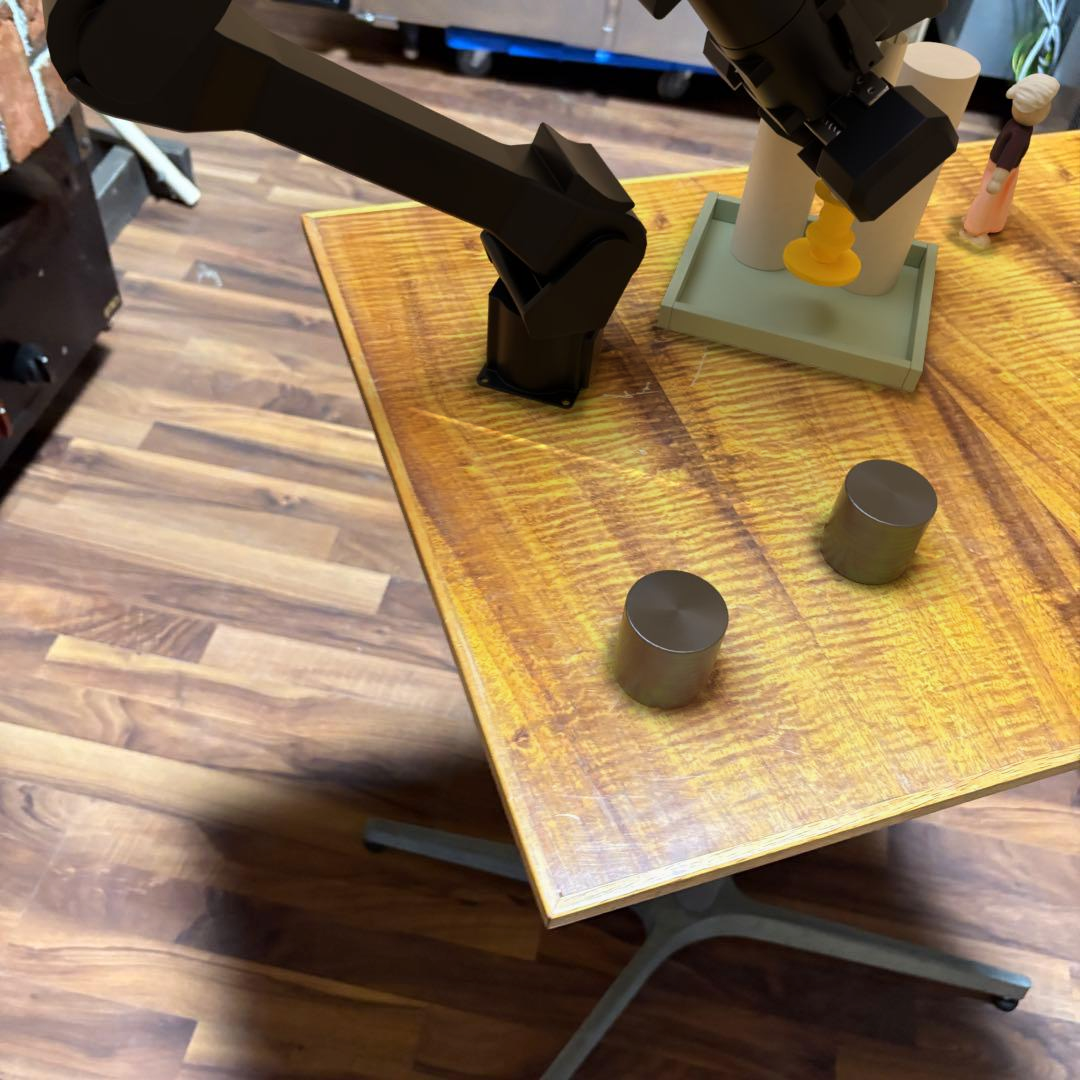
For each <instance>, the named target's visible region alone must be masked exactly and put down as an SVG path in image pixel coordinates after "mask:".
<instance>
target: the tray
mask: <svg viewBox="0 0 1080 1080" xmlns="http://www.w3.org/2000/svg"><path fill="white" fill-rule="evenodd" d="M741 198H742V197H736V196H732V195H727V194H724V193H719V192H717V191H713V190H712V191H711V190H708V192H707V195H706V197H705V199H704V202H703V204H702V206H701V209H700V211H699V213H698V216H697V218H696V220H695V223H694V225H693V228H692V230H691V232H690V235H689V237H688V239H687V242H686V244H685V247H684V249H683V251H682V253H681V256H680V258H679V261H678V263H677V266H676V268H675V270H674V273H673V275H672V277H671V279H670V282H669V285H668V287H667V289H666V292H665V294H664V296H663V299H662V300H661V304H660V307H659V312H658V317H657V323H656V328H660V329H664V330H669V331H673V332H675V333H680V334H684V335H688V336H691V337H695V338H699V339H702V340H707V341H711V342H715V343H719V344H723V345H725V346H726V345H727V346H730V347H733V348H738V349H741V350H746V351H749V352H754V353H757V354H761V355H765V356H769V357H773V358H777V359H780V360H785V361H789V362H792V363H796V364H800V365H804V366H808V367H812V368H815V369H819V370H823V371H828V372H831V373H835V374H838V375H843V376H846V377H851V378H854V379H858V380H862V381H865V382H869V383H874V384H877V385H881V386H885V387H888V388H893V389H897V390H900V391H905V392H908V393H912V394H913V393H914V391H915V389H916V387H917V384H918V382H919V380H920V378H921V376H922V374H923V372H924V371H923V370H924V363H925V355H926V348H927V347H926V346H927V340H928V332H929V331H928V330H929V324H930V315H931V310H932V309H931V307H932V299H933V292H934V283H935V278H936V277H935V276H936V269H937V260H938V254H939V253H938V252H939V245H938V244H936V243H931V242H927V241H922V240H919V239H915V238H914V239H913V242H912V244H911V247H910V249H909V252H908V254H907V257H906V259H905V262H904V264H903V267H902V269H901V272H900V274H899V277H898V279H897V282H896V285H895V287H894V288H893V289H892V290H891V291H890V292H888V293H886V294H883V295H879V296H865V295H859V294H855V293H852V292H850V291H847V290H845V289H843V288H842V287H840V286H838V287H825V286H818V285H815V284H811V283H808V282H806V281H803V280H801V279H799V278H798V277H796V276H795V275H793V274H792V273H791V272H790V271H789V270H788V269H787V268H785V269H782V270H777V271H765V270H759V269H755V268H752V267H749V266H747V265H745V264H743V263H741V262H740V261H738V260H737V259H736V258H735V257H734V256H733V254H732V252H731V249H730V244H731V240H732V236H733V231H734V227H735V223H736V219H737V215H738V211H739V207H740V203H741ZM817 220H819V216H818V215H812V214H809V217H808V220H807V223H806V227H805V230H804V233H803V236H802V238H804V237H806V230H807V227H808V225H809V224H810V223H812V222H814V221H817Z"/></svg>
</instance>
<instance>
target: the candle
mask: <svg viewBox="0 0 1080 1080" xmlns="http://www.w3.org/2000/svg"><path fill="white" fill-rule="evenodd" d="M909 42H910V36H909V35H908V34H907V33H906V32H904V31H902V32H900V33H898V34H897V35H895V36H893V37H891V38H889V39H887V40H884V41H880V43H879V45H878V47H879V49H880V51H881V53H882V55H883V57H884V58H883V59H882V60H881V61H880V62H878V63H877V64H876V65H875V66H874V67H873V68H872V69H871V71H872V72H873V73H874V74H876V75H877V76H878V77H879V78H881V77H884V78H885V79H886V80H887V81H888V82H889V83H890V84H892V85H893V86H894V87H895V84H896V81H897V78H898V75H899V72H900V69H901V66H902V63H903V59H904V56H905V53H906V49H907V46H908V45H909ZM814 191H815V193H816V194H815V196H817V197H818V198H819V199H820V200H821V201H823V206H822V207H821V208H820V210H819V213H818V217H819V220H817V221H814V222H812V223H810V224H809V225H808V227H807V230H806V237H804V238H799V239H796V240H794V241H791V242H790V243H789V244H788V245H787V246H786V248H785V250H784V253H783V262H784V264H785V266H786V268H787V269H788V270H789V271H790V272H791V273H792V274H793V275H795V276H796V277H798V278H799V279H801V280H803V281H806V282H808V283H811V284H815V285H818V286H825V287H838V286H844V285H847V284H849V283H851V282H853V281H854V280H855V279H856V278H857V277H858V275H859V272H860V270H861V262H860V260H859V258H858V256H857V255H856V254H855V253H854V252H853V251H852V250H851V249H850V248H851V247H852V246H853V244H854V241H855V234H854V233H853V231H852V230H851V229H850V227H851V225H852V223H853V221H854V219H855V216H854V215H853V214H852V213H851V212H850V211H849V210H848V209H847V208H846V207H845V206H844V205H843V204H842V203H841V202H840V201H839V200H838V199H837V198H836V196H835V195H834V194H833V193H832V192H831V190H830V189H829V188H828V187H827V186H826V184H825V183H824V182H823V181H822V179H821V178H820V180H819V181H817V182H816V184H815V186H814Z"/></svg>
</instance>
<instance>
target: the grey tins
mask: <svg viewBox="0 0 1080 1080" xmlns="http://www.w3.org/2000/svg"><path fill="white" fill-rule="evenodd" d="M938 505H939V501H938V495H937V492H936V490H935V488H934V487H933V485H932V484H931V482H930V481H929V480H928V478H926V476H924V475H923V474H922V473H920V472H919V471H917V470H916V469H914V468H913V467H911V466H909V465H906V464H904V463H902V462H898V461H894V460H890V459H885V458H884V459H881V458H876V459H867V460H864V461H861V462H859V463H857V464H855V465H854V466H853V467H851V468H850V469H849V471H848V472H847V473H846V476H845V478H844V480H843V483H842V485H841V487H840V490H839V492H838V494H837V496H836V499H835V500H834V503H833V506H832V508H831V510H830V513H829V515H828V518H827V520H826V522H825V525H824V527H823V530H822V532H821V534H820V539H819V547H820V552H821V554H822V556H823V558H824V559H825V561H826V563H828V565H829V566H830V567H831V568H832V569H833V570H835V571H836V572H837V573H838V574H839V575H841V576H843V577H845V578H846V579H849V580H851V581H854V582H856V583H860V584H865V585H883V584H884V585H885V584H888V583H891V582H893V581H895V580H896V579H898V578H899V577H900V576H902V575H903V573H904V571H905V570H906V568H907V566H908V565H909V563H910V561H911V559H912V557H913V555H914V553H915V552H916V549H918V546H919V545H920V543H921V541H922V539H923V536H924V535H925V533H926V532H927V529H928V528H929V526H930V524H931V522H932V521H933V518H934V516H935V515H936V513H937V511H938ZM729 621H730V614H729V609H728V605H727V603H726V601H725V599H724V597H723V595H722V594H721V593H720V591H719V590H718V589H717V588H716V587H715V586H714V585H713V584H712V583H710V582H709V581H707V580H706V579H704V578H702V577H701V576H698V575H696V574H694V573H692V572H688V571H684V570H678V569H661V570H656V571H653V572H650V573H648V574H645V575H643V576H642V577H640V578H639V579H638V580H636V581H635V583H634V584H633V585H632V586H631V587H630V589H629V590H628V592H627V594H626V598H625V601H624V606H623V610H622V615H621V620H620V625H619V629H618V632H617V638H616V642H615V647H614V652H613V656H612V668H613V670H612V671H613V674H614V676H615V679H616V681H617V682H618V685H619V686H620V687H621V688H622V689H623V691H624V692H625V693H626V694H627V695H628V696H630V697H631V698H632V699H634V700H635V701H636V702H639V703H640V704H643V705H645V706H647V707H651V708H655V709H664V710H665V709H666V710H671V709H678V708H682V707H685V706H687V705H688V704H689V705H690V704H691V703H693V702H694V701H695V700H697V699H698V698H699V697H700V696H701V695H702V694H704V693H703V692H704V691H705V690H706V688H707V686H708V683H709V680H710V678H711V674H712V671H713V669H714V666H715V663H716V661H717V658H718V655H719V652H720V650H721V648H722V644H723V641H724V638H725V636H726V632H727V630H728V627H729V623H730V622H729Z"/></svg>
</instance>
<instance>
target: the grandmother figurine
mask: <svg viewBox="0 0 1080 1080" xmlns="http://www.w3.org/2000/svg"><path fill="white" fill-rule="evenodd" d="M1060 87H1061V84H1060V83H1059V81H1058V80H1057V78H1055V77H1054V76H1051V75H1049V74H1046V73H1041V72H1039V73H1032V74H1029V75H1027V76H1025V77H1023V78H1021V79H1020V80H1019V81H1017V82H1016V83H1015V84H1013V85H1012V86H1011V87H1010V88H1009V89H1008V90H1007V91H1006V93H1005V97H1006V98H1007V99H1009V100H1012V107H1011V114H1012V117H1011V118H1010V119H1009V120H1008V121H1007V122H1006V123H1005V125H1004V127H1003V128H1002V130H1001V131H1000V132H999V133H998V135H997V137H995V138H996V139H995V141H994V143H993V145H992V147H991V150H990V152H989V156H988V160H987V163H986V165H985V168H984V170H983V173H982V176H981V181H980V186H979V192H978V194H977V195H976V197H975V198H974V199H973V200H972V202H971V204H970V206H969V208H968V210H967V212H966V214H965V215H964V216H962V217H961V219H960V220H961V222H962V223H964V224H963V228H964V229H961V230H959V231H958V234H959V236H960V237H961V238H963V239H965V240H966V241H969V242H971V243H972V244H974V245H977V246H980V247H987V246H989V245H991V243H992V241H991V237H990V236H989V235H988V234H989V233H998V232H1001V231H1002V230H1003V229H1004V228H1005V225H1006V222H1007V219H1008V216H1009V213H1010V210H1011V207H1012V203H1013V200H1014V195H1015V191H1016V187H1017V183H1018V177H1019V172H1020V165H1021V163H1022V160H1023V159H1024V157H1025V156H1026V154H1027V152H1028V150H1029V148H1030V145H1031V140H1032V136H1033V132H1034V126H1036V125H1038V124H1041V123H1042V122H1043V121H1045V120H1046V119H1047V117H1048V116H1049V114H1050V112H1051V109H1052V100H1053V99H1054V98H1055V97H1056V96H1057V94H1058V92H1059V90H1060Z"/></svg>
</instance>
